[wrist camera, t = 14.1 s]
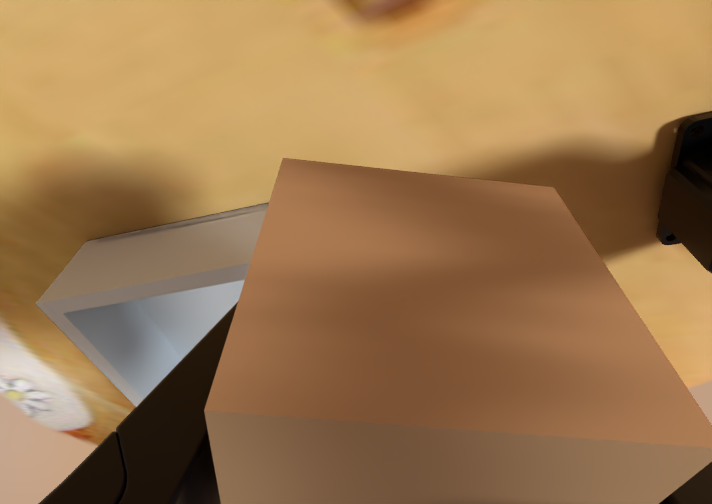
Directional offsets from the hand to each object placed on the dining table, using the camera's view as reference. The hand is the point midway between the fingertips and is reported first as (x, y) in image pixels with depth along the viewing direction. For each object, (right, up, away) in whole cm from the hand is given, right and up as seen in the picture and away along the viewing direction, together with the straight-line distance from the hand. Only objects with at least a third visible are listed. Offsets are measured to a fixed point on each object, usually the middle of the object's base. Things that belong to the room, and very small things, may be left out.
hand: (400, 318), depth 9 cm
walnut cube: (0, +1, +1) cm, 1 cm away
